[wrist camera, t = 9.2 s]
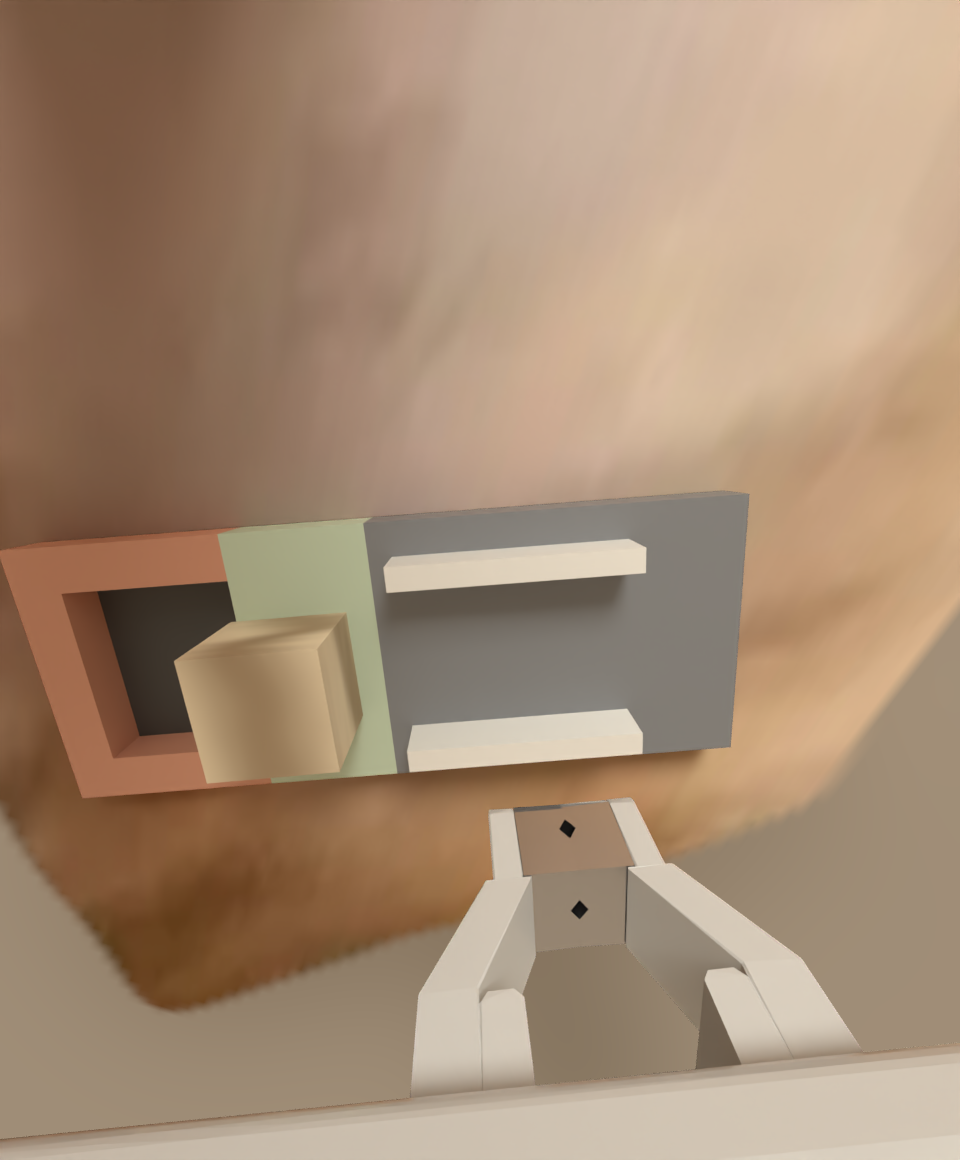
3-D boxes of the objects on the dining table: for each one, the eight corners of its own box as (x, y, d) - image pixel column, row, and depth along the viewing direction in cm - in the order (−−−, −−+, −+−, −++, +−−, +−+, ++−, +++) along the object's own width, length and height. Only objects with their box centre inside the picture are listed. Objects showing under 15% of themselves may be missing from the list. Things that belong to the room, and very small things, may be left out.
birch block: (346, 612, 20) (317, 648, 16) (363, 715, 21) (339, 772, 17) (230, 621, 20) (173, 661, 16) (254, 724, 21) (207, 783, 17)
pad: (372, 517, 21) (363, 523, 19) (402, 748, 24) (397, 773, 22) (240, 527, 21) (217, 534, 19) (287, 757, 24) (271, 783, 22)
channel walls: (628, 538, 20) (646, 547, 18) (627, 727, 22) (642, 753, 20) (391, 556, 19) (383, 567, 18) (414, 744, 22) (409, 772, 20)
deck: (723, 490, 21) (749, 493, 19) (709, 724, 24) (730, 747, 22) (41, 542, 21) (-3, 550, 19) (113, 770, 24) (82, 798, 22)
